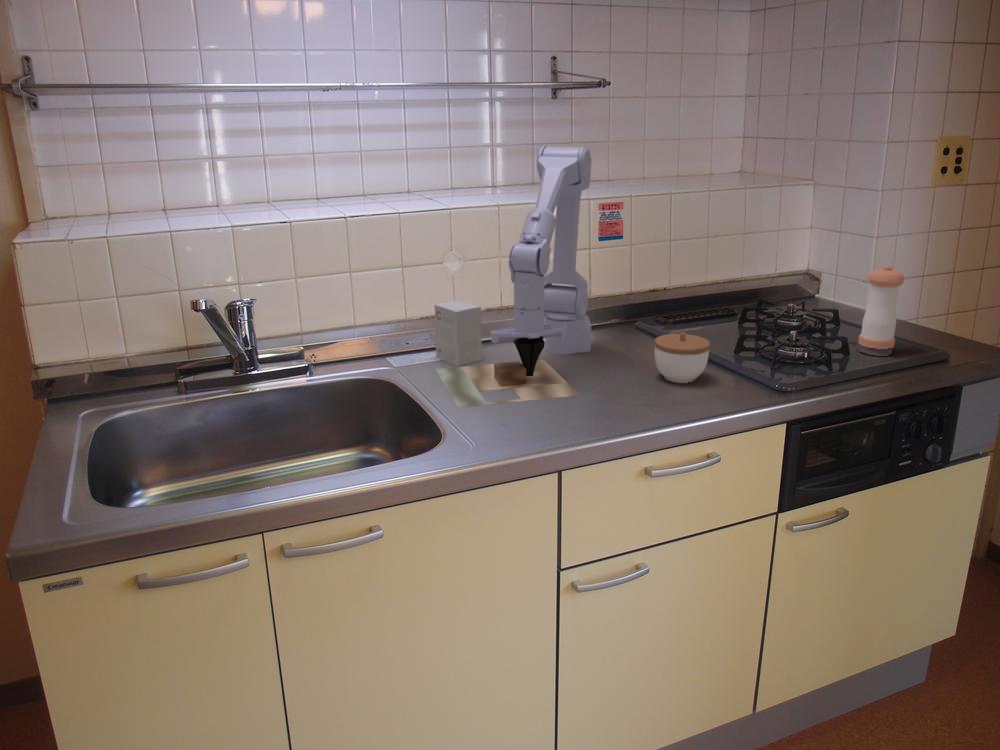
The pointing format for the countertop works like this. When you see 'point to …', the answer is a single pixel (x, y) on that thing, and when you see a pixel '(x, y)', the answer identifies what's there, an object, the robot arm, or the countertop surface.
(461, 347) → the small box
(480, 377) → the board
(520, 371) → the block
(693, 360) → the lidded jar
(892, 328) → the pepper shaker
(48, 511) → the countertop surface
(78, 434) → the countertop surface
